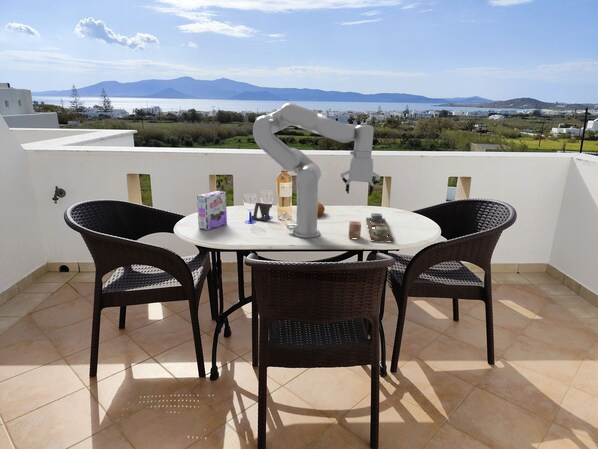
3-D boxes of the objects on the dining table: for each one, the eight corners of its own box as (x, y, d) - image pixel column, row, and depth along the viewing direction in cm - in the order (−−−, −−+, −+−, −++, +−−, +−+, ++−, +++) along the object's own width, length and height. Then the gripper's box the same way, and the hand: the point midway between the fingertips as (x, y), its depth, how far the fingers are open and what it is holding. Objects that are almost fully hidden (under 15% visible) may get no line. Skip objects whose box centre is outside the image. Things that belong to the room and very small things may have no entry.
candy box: (207, 230, 184) (205, 196, 180) (198, 228, 187) (196, 194, 183) (227, 224, 195) (226, 191, 191) (218, 222, 199) (217, 190, 194)
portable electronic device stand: (250, 219, 204) (250, 204, 202) (258, 216, 211) (258, 200, 209) (265, 221, 201) (265, 206, 198) (273, 218, 208) (273, 202, 205)
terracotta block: (348, 239, 177) (349, 224, 175) (348, 235, 182) (349, 221, 180) (360, 239, 176) (361, 224, 174) (359, 236, 181) (360, 221, 179)
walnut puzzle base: (371, 241, 174) (371, 230, 173) (366, 221, 205) (366, 211, 204) (392, 242, 174) (393, 231, 172) (384, 222, 205) (385, 212, 203)
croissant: (324, 215, 224) (325, 201, 223) (323, 218, 209) (324, 203, 207) (299, 213, 225) (300, 199, 224) (296, 216, 210) (297, 201, 209)
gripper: (342, 154, 166) (339, 194, 170) (383, 157, 164) (379, 197, 169) (342, 152, 173) (339, 190, 178) (382, 154, 171) (377, 193, 176)
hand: (358, 193), depth 173 cm, fingers open, 9 cm apart
